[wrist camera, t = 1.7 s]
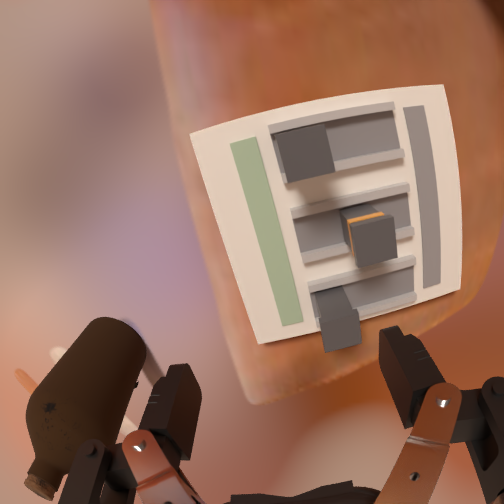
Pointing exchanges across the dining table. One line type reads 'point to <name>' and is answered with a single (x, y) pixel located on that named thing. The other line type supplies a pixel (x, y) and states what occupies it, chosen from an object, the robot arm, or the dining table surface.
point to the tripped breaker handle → (369, 234)
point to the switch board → (335, 208)
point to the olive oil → (82, 399)
